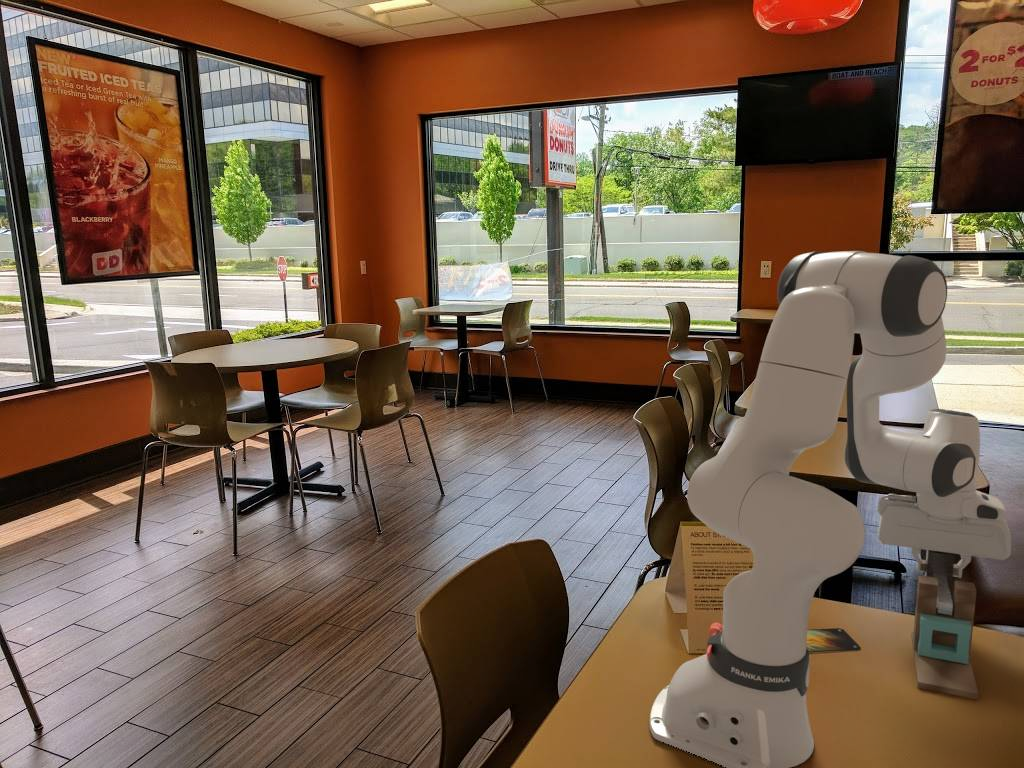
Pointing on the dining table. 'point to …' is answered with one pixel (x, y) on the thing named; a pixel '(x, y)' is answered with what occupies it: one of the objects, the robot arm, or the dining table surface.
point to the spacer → (942, 651)
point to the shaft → (941, 577)
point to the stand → (944, 640)
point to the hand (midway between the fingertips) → (938, 573)
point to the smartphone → (830, 641)
